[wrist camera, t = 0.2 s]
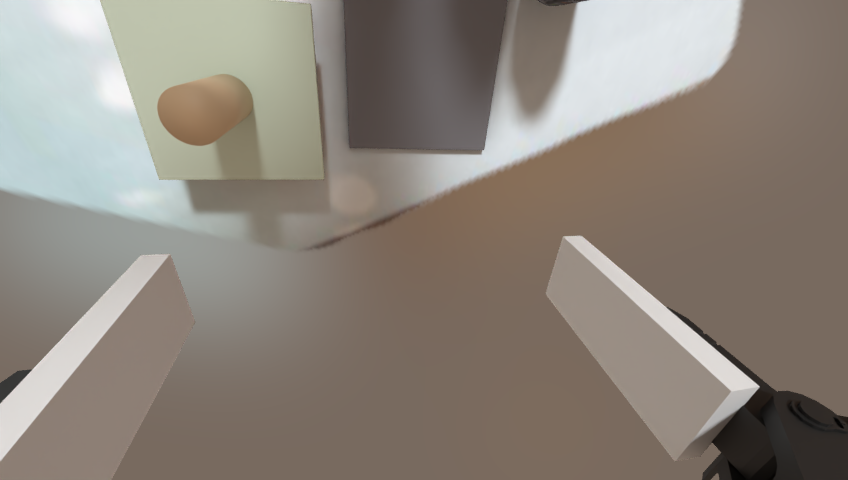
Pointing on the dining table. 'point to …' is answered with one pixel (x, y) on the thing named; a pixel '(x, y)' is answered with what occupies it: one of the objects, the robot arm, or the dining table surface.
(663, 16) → the dining table surface
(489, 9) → the mat
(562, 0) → the pill bottle
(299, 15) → the lid
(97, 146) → the dining table surface
